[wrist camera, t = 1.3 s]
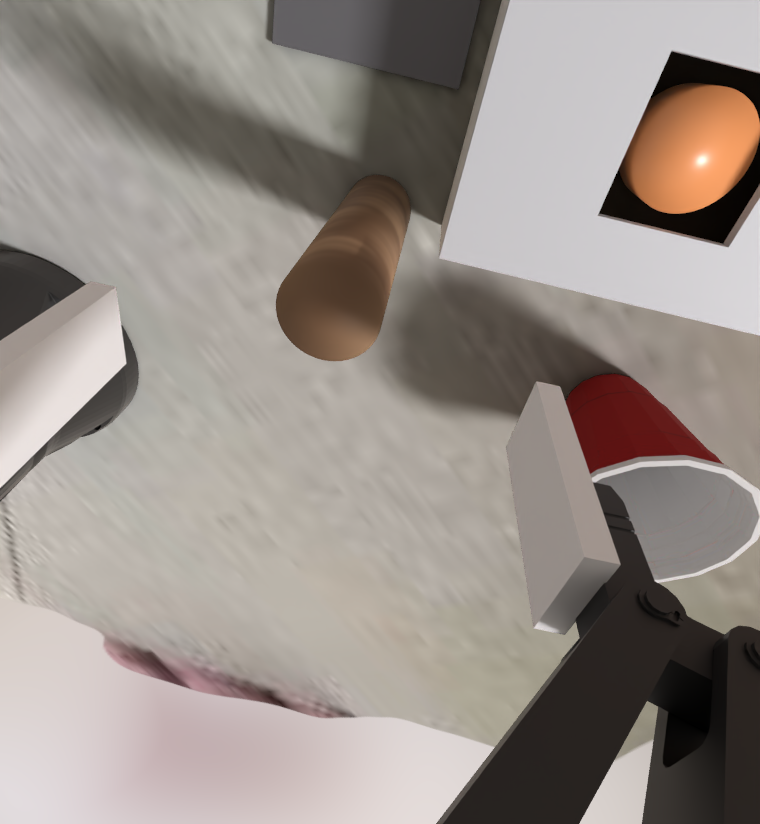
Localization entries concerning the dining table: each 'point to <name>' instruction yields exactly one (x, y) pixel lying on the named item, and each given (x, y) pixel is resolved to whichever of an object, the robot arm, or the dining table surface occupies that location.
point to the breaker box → (595, 156)
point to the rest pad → (383, 34)
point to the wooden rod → (347, 273)
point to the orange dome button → (691, 147)
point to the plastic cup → (663, 478)
